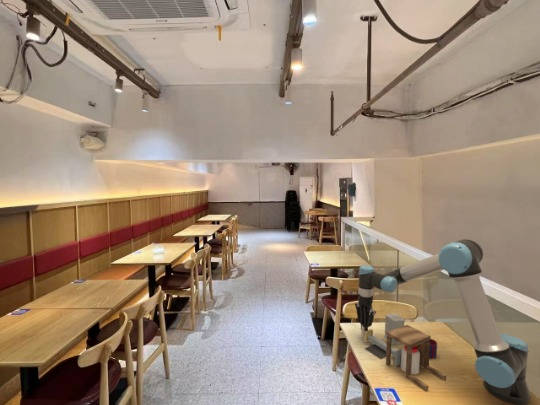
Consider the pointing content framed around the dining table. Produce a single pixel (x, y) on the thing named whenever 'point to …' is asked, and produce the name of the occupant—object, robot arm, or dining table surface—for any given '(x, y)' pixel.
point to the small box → (393, 325)
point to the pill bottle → (415, 359)
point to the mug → (433, 349)
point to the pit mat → (376, 351)
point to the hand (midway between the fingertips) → (364, 336)
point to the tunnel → (411, 339)
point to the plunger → (382, 345)
